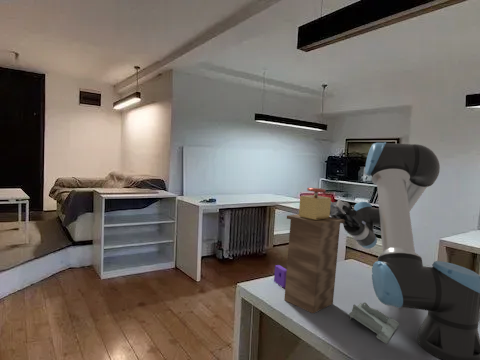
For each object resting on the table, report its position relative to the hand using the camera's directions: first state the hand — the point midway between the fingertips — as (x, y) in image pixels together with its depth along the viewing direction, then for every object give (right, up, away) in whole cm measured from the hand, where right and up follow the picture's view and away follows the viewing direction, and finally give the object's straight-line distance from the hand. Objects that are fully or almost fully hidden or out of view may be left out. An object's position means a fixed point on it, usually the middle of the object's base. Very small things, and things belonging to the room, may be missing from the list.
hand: (331, 201), depth 118 cm
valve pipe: (-2, -5, -1) cm, 6 cm away
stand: (-9, -35, -4) cm, 36 cm away
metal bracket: (+7, -38, -17) cm, 42 cm away
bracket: (-13, -34, +13) cm, 39 cm away
